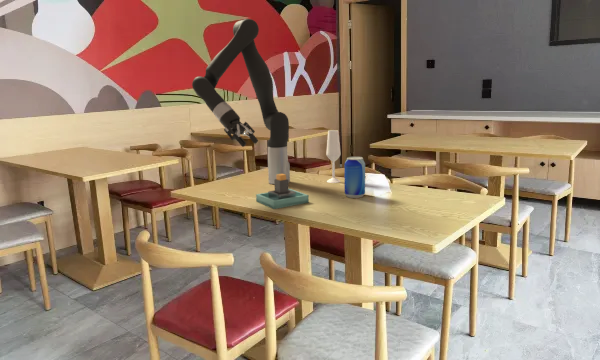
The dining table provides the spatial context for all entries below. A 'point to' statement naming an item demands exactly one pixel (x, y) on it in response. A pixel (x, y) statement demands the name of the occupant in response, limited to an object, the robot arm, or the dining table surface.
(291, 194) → the inlet
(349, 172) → the beer can
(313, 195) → the dining table surface
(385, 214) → the dining table surface
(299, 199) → the tray
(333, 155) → the champagne flute
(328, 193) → the dining table surface
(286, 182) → the grey square peg
